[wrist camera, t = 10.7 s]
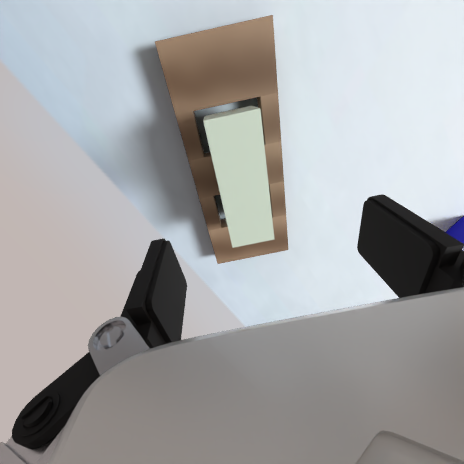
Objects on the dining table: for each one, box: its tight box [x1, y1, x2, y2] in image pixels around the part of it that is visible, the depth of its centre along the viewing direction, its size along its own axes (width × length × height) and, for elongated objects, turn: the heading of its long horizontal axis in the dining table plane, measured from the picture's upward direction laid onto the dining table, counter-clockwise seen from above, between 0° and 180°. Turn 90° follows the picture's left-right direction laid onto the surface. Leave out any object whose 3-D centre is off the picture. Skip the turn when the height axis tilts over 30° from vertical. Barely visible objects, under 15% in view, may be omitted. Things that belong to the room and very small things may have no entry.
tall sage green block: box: [203, 106, 274, 248], centre depth 21 cm, size 11×4×7 cm, turn 11°
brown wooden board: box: [155, 15, 288, 264], centre depth 24 cm, size 22×9×2 cm, turn 10°
